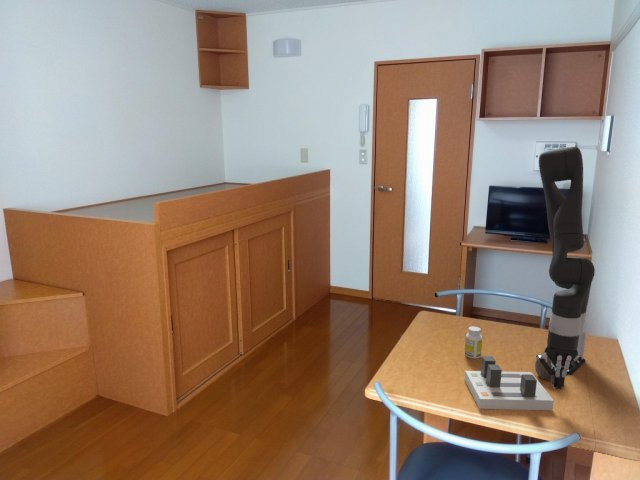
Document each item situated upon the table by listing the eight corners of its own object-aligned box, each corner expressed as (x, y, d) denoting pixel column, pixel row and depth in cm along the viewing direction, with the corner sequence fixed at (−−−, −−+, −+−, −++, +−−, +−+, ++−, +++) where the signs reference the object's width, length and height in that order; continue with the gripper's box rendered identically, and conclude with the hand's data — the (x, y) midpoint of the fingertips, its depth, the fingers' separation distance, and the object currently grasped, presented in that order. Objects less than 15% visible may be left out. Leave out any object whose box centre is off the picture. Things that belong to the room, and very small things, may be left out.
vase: (556, 373, 154) (559, 347, 153) (559, 383, 148) (562, 357, 146) (533, 370, 157) (535, 344, 155) (534, 380, 150) (537, 354, 148)
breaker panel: (530, 381, 150) (532, 355, 148) (552, 410, 134) (556, 382, 132) (464, 379, 150) (466, 354, 148) (479, 408, 135) (481, 380, 133)
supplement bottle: (479, 352, 169) (481, 325, 167) (482, 359, 164) (484, 332, 162) (463, 351, 170) (465, 325, 167) (466, 358, 164) (468, 331, 162)
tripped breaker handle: (530, 390, 137) (532, 374, 136) (535, 396, 134) (536, 380, 133) (519, 390, 138) (521, 374, 136) (524, 396, 134) (525, 380, 133)
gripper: (582, 324, 135) (574, 381, 139) (533, 323, 135) (527, 380, 139) (596, 335, 127) (588, 395, 131) (545, 334, 128) (538, 394, 132)
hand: (556, 387), depth 135 cm, fingers closed
